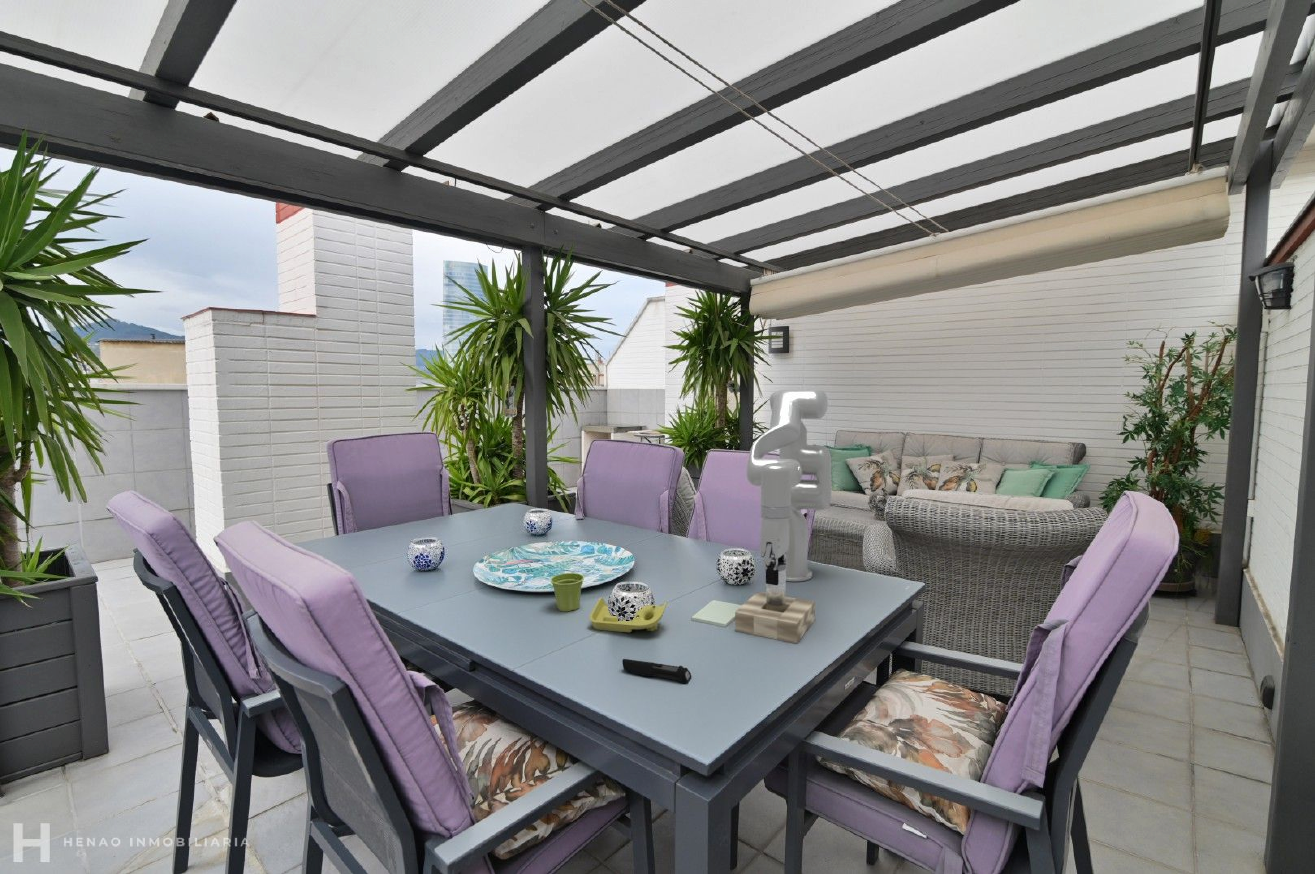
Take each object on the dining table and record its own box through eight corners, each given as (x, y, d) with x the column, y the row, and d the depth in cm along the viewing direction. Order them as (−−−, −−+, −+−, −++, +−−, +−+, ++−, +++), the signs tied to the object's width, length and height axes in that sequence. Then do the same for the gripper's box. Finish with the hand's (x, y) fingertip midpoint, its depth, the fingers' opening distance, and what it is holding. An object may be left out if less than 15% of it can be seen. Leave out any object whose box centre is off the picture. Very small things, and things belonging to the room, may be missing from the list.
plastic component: (586, 621, 155) (601, 593, 163) (595, 641, 159) (609, 612, 167) (656, 627, 147) (669, 597, 155) (664, 647, 151) (675, 617, 159)
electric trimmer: (626, 667, 136) (626, 654, 136) (692, 677, 130) (691, 663, 130) (619, 675, 132) (619, 661, 132) (687, 686, 127) (686, 671, 126)
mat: (713, 602, 173) (713, 600, 173) (745, 608, 168) (745, 605, 168) (691, 620, 161) (691, 617, 160) (725, 627, 156) (725, 624, 156)
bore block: (757, 609, 167) (757, 591, 167) (814, 619, 159) (814, 601, 159) (735, 630, 153) (735, 611, 153) (796, 643, 145) (796, 623, 145)
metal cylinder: (769, 597, 159) (769, 560, 158) (788, 600, 157) (788, 563, 156) (763, 603, 155) (763, 566, 154) (782, 607, 153) (782, 569, 151)
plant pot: (578, 615, 165) (577, 584, 165) (546, 613, 167) (545, 582, 167) (589, 602, 175) (588, 573, 174) (558, 600, 176) (557, 572, 176)
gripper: (772, 503, 163) (772, 569, 165) (749, 517, 148) (750, 589, 150) (800, 506, 159) (799, 573, 161) (779, 520, 144) (779, 594, 146)
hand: (775, 580), depth 155 cm, fingers closed on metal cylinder, 5 cm apart
